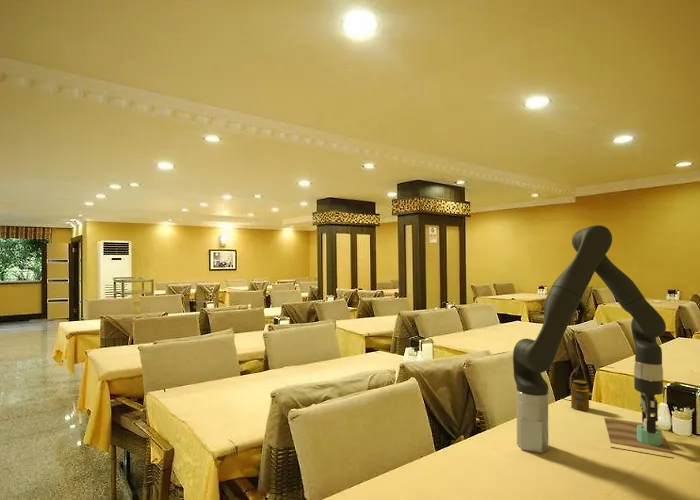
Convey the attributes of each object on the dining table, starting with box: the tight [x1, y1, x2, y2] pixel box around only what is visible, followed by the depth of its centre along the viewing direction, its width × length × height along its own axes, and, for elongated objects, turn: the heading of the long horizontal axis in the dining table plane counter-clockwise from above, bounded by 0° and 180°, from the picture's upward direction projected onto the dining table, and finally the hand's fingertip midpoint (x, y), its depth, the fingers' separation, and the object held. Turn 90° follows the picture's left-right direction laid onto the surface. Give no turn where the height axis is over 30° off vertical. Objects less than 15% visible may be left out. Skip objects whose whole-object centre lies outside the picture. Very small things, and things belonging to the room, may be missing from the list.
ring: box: [637, 425, 662, 446], centre depth 134 cm, size 6×6×4 cm
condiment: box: [570, 379, 590, 412], centre depth 163 cm, size 7×8×12 cm
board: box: [603, 417, 674, 460], centre depth 140 cm, size 24×16×9 cm, turn 153°
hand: (648, 427), depth 134 cm, fingers open, 8 cm apart
